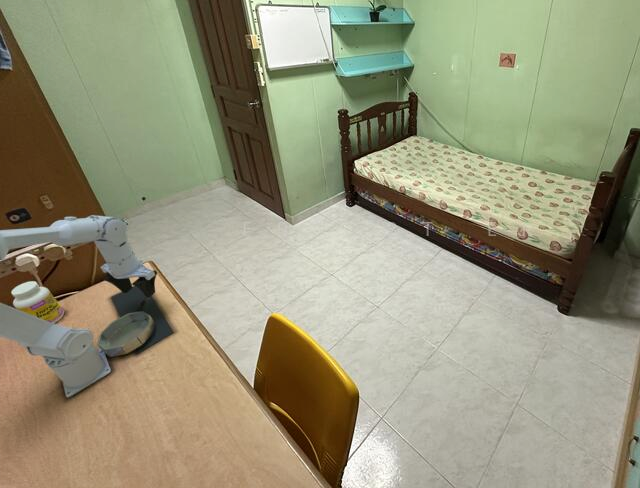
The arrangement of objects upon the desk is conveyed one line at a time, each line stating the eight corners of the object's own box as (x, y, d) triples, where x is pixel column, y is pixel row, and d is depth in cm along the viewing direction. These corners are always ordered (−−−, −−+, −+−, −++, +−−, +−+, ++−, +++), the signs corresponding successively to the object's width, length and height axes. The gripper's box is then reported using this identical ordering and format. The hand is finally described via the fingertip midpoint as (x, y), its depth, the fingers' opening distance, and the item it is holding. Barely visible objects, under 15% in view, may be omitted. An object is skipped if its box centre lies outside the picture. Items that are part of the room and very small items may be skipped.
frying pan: (136, 301, 95) (129, 291, 93) (176, 295, 97) (171, 285, 94) (95, 363, 78) (86, 352, 76) (145, 354, 80) (137, 344, 78)
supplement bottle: (44, 332, 85) (17, 299, 79) (25, 327, 87) (-3, 295, 80) (71, 312, 91) (48, 280, 85) (53, 308, 92) (29, 276, 86)
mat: (111, 297, 96) (110, 297, 96) (143, 282, 102) (143, 281, 102) (137, 354, 80) (136, 353, 80) (173, 332, 86) (173, 332, 86)
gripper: (156, 249, 84) (173, 285, 91) (111, 242, 86) (130, 278, 93) (132, 267, 78) (152, 305, 85) (84, 260, 80) (107, 297, 87)
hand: (139, 292), depth 88 cm, fingers open, 7 cm apart
